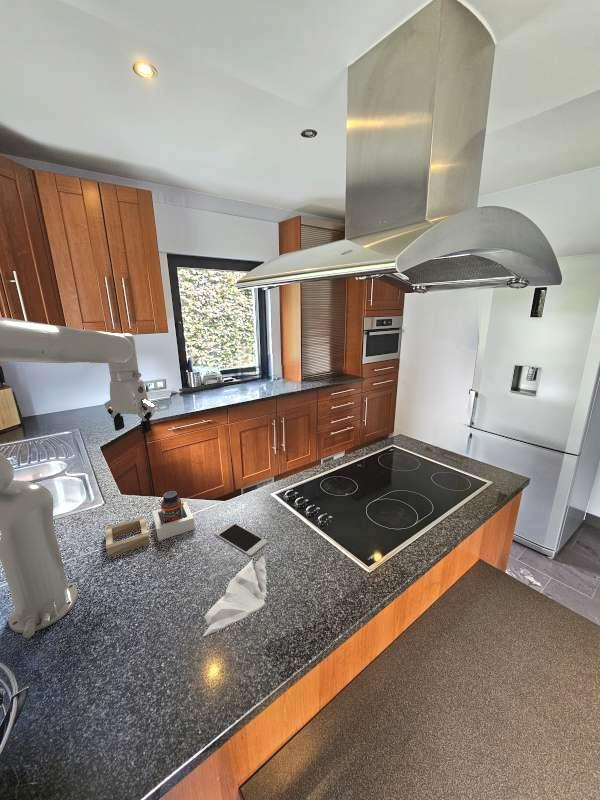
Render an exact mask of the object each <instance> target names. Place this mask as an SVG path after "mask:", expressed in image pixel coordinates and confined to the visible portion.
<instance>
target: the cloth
mask: <svg viewBox="0 0 600 800" xmlns="http://www.w3.org/2000/svg"><path fill="white" fill-rule="evenodd" d="M266 556H267V555H266V554H264V555H262V556H261V557H260V558H259V559H258V560H257V561H256V562H255V564H254V560H253V559H251V560H250V561H249V562H248V563H247V564H246V565H245V566H244V567H243V568H242V569H241V570H240V571H239V572H238V573H236V575H235V577H233V578H232V579H230V580H229V583H228V585H227V588H226V590H225V594H224V595H223V596H221V597H220V598H219V599H218V600H217V601H216V602H215V603H214V604H213V606H212V607H210V609H209V610H208V611H207V613H205V615H204V620H205V619H206V620H205V621H206V622H207V624H208V625H209V626H208V627H207V629H206V631H205V632H204V634H203V635H202V637H208V635H210V634H213V633H216V632H218V631H220V630H222V629H224V628H227V627H229V626H232V625H233V624H235V623H237V622H238V621H242V620H244V619H245V618H247V617H248V616H249V615H250V614H253V613H254V612H257V611H258V610H260V609H261V608H263V607H264V606H265V605H266V602H265V599H266V598H267V593H268V592H267V583H268V582H267V568H266V566H267V562H266Z"/></svg>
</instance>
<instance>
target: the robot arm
mask: <svg viewBox="0 0 600 800" xmlns="http://www.w3.org/2000/svg"><path fill="white" fill-rule="evenodd" d="M0 362H13V363H14V362H15V363H16V362H19V363H42V364H45V363H46V364H74V363H75V364H76V363H90V364H108V370H109V377H110V381H109V400H108V401H106V402H104V404H103V405H104V407H105V408H106V410H107V413H108V414H109V415H110V417H111V419H113V425H114V430H115V431H116V432H119V431H121V430H123V429H124V428H125V421H124V416H123V415H124V414H125V415H134V416H135V415H136V416H138V417H139V418H140V419H141V420H140V427H141V434H147V433H149V432H151V430H152V426H151V418H152V417H153V416H154V414H155V410H156V408H157V407H156V405H154V404H153V403H151V402H150V401H149V398H148V393H147V389H146V387H145V383H144V382H143V379H140V378H141V377H142V373H141V372H140V371H139V365H138V357H137V349H136V342H135V337H134V335H133V334H131V333H128V332H127V333H126V332H125V333H123V332H122V333H121V332H120V333H119V332H117V333H112V332H107V331H99V330H91V329H85V328H83V329H82V328H74V327H69V326H62V325H57V324H56V325H55V324H54V325H53V324H48V323H41V322H34V321H28V320H21V319H15V318H11V317H10V318H9V317H2V316H0ZM122 414H123V415H122ZM14 478H15V470H14V466H13V464H12V463H11V461H10V460H9V459H8V458H7V456H5V454H3V453H2V452H1V451H0V534H1V535H0V563H1V566H2V569H3V572H4V574H5V578H6V582H7V585H8V588H9V593H10V596H11V599H12V602H13V606H14V607H13V608H12V609H11V611H10V614H9V616H8V626H9V628H10V629H11V630H12V631H14V632H15V633H19V634H22V637H23V638H25V639H26V638H27V639H28V638H31V637H32V636H34V635H35V632H36V631H39V630H41V629H42V630H43V629H44V628H46V627H49V626H50V625H52V624H54V623H56V622H57V621H59V620H61V618H63V617H64V616H66V614H67V613H69V611H71V609H72V608H73V607H74V605H75V604H76V602H77V601H78V597H79V590H78V587H77V586H76V584H74V583H72V582H70V581H68V579H67V576H66V572H65V569H64V568H65V567H64V563H63V559H62V554H61V551H60V546H59V542H58V538H57V534H56V529H55V523H54V504H55V503H54V497H53V494H52V493H51V491H50V490H49V489H48V488H47V487H46V486H44V485H42V484H40V483H36V482H32V481H27V480H18V479H17V480H16V479H14Z"/></svg>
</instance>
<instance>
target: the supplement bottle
mask: <svg viewBox="0 0 600 800" xmlns="http://www.w3.org/2000/svg"><path fill="white" fill-rule="evenodd" d="M162 497H163V499H162V501H161V503H160V509H161V510H162V519H163V522H162V525H163V524H166V523H170V522H173V521H176V520H179V519H182V518H184V515H183V514H182V505H181V501H182V499H181V498H180V497H178V493H177V491H174V490H170V491H166V492H165V493H164V494H163V496H162Z"/></svg>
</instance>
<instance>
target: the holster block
mask: <svg viewBox="0 0 600 800" xmlns="http://www.w3.org/2000/svg"><path fill="white" fill-rule="evenodd" d="M138 530H140V532H141V534H139V535H138V534H137V535H134V536H131V537H128V538H126V539H122V540H119V541H116V542H114V538H115V537H118V536H120V535H124V534H127V533H130V532H131V533H132V532H135V531H138ZM105 545H106V546H105V547H106V548H105V549H106V553H107V554H106V555H107V558H112V557H115V556H117V555H118V556H119V555H120V554H124V553H126V552H130V551H133V550H136V549H138V548H139V549H140V548H141V547H145V546H147V545H151V544H150V537H149V532H148V526H147V523H146V518H145V515H144V516H141V517H137V518H134V519H130V520H127V521H123V522H120V523H116V524H113V525H109V526H106V527H105Z"/></svg>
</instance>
